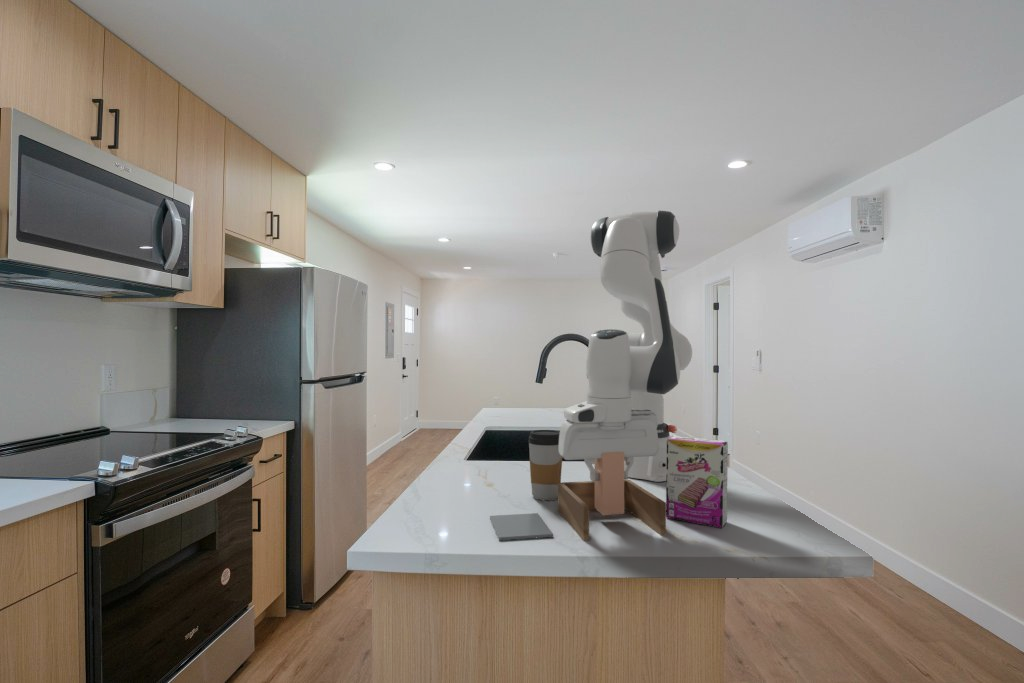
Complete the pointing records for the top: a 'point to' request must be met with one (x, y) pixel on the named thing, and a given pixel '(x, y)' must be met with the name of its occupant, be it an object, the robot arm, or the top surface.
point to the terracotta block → (610, 483)
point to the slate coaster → (520, 526)
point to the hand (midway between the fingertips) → (609, 479)
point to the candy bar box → (697, 480)
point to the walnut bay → (581, 500)
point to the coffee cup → (545, 463)
